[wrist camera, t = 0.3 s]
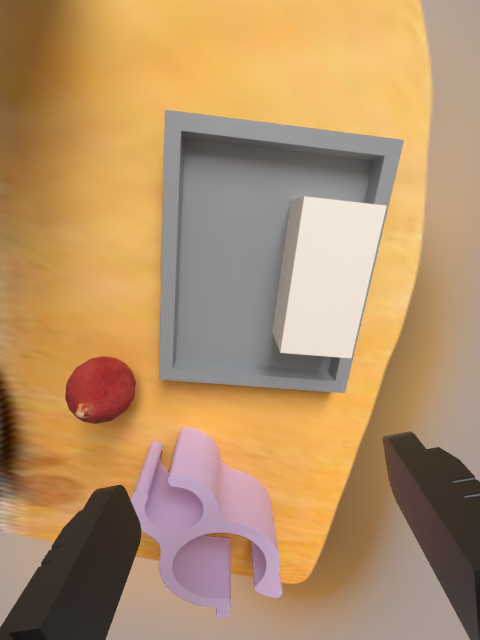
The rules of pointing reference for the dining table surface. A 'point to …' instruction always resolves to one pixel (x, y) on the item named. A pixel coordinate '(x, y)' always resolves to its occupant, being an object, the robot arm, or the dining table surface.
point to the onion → (100, 390)
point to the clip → (205, 521)
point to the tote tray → (249, 241)
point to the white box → (325, 275)
